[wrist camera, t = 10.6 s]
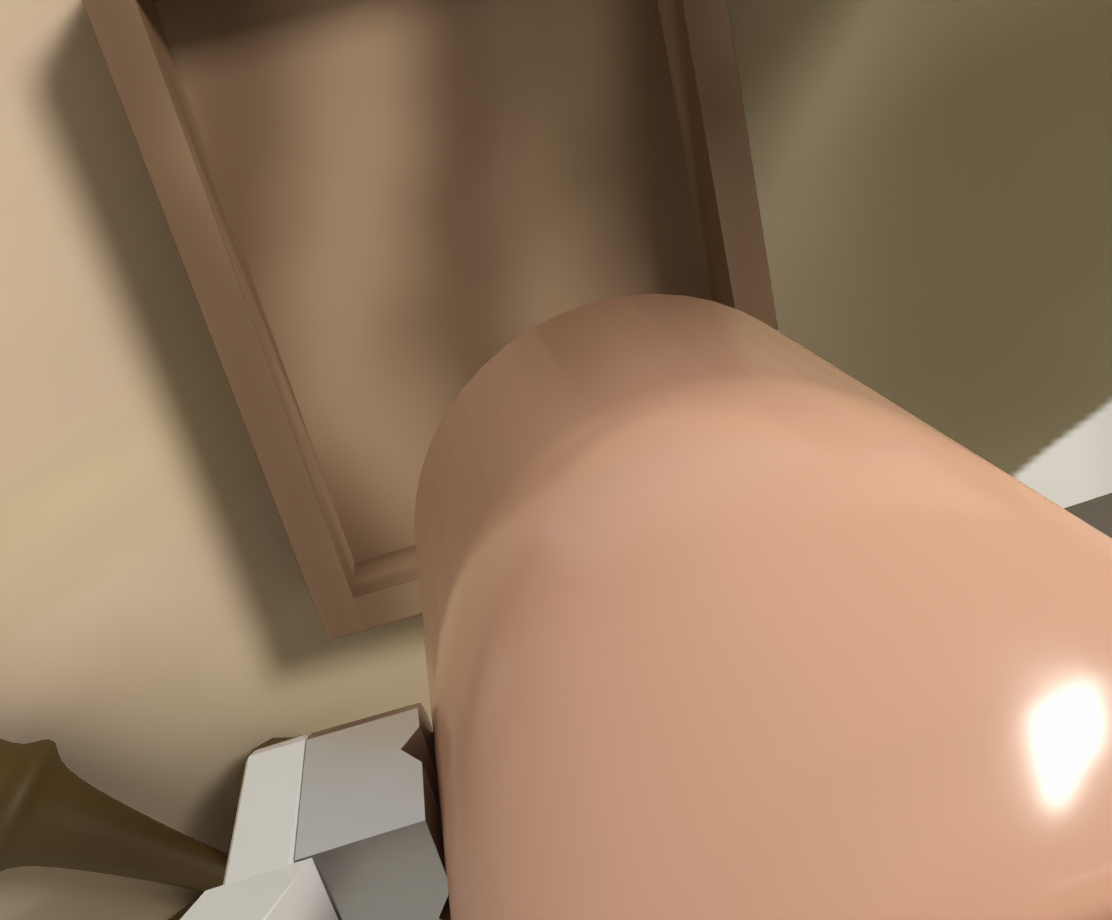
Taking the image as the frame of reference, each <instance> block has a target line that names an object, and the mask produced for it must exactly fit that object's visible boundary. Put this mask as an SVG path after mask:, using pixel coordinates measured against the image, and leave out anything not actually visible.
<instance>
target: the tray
mask: <svg viewBox="0 0 1112 920" xmlns="http://www.w3.org/2000/svg"><path fill="white" fill-rule="evenodd" d="M82 1H83V4H84V6H85V9H86V12H87V14H88V17H89V20H90V22H91V25H92V27H93V30H94V33H95V35H96V38H97V40H98V43H99V46H100V48H101V51H102V53H103V56H104V59H105V61H106V64H107V66H108V69H109V72H110V74H111V77H112V80H113V82H114V85H115V87H116V90H117V93H118V95H119V98H120V100H121V103H122V106H123V108H124V111H125V113H126V116H127V119H128V121H129V124H130V126H131V129H132V132H133V134H134V137H135V139H136V142H137V145H138V147H139V150H140V153H141V155H142V158H143V160H144V163H145V166H146V168H147V171H148V173H149V176H150V179H151V181H152V184H153V186H154V189H155V192H156V194H157V197H158V199H159V202H160V205H161V207H162V210H163V213H164V215H165V218H166V220H167V223H168V226H169V228H170V231H171V233H172V236H173V239H174V241H175V244H176V246H177V249H178V252H179V254H180V257H181V259H182V262H183V265H184V267H185V270H186V272H187V275H188V278H189V280H190V283H191V286H192V288H193V291H194V293H195V296H196V299H197V301H198V304H199V306H200V309H201V312H202V314H203V317H204V319H205V322H206V325H207V327H208V330H209V332H210V335H211V338H212V340H213V343H214V346H215V348H216V351H217V353H218V356H219V359H220V361H221V364H222V366H223V369H224V372H225V374H226V377H227V379H228V382H229V385H230V387H231V390H232V392H233V395H234V398H235V400H236V403H237V406H238V408H239V411H240V413H241V416H242V419H243V421H244V424H245V426H246V429H247V432H248V434H249V437H250V439H251V442H252V445H253V447H254V450H255V452H256V455H257V458H258V460H259V463H260V465H261V468H262V471H263V473H264V476H265V479H266V481H267V484H268V486H269V489H270V492H271V494H272V497H273V499H274V502H275V505H276V507H277V510H278V512H279V515H280V518H281V520H282V523H283V525H284V528H285V531H286V533H287V536H288V539H289V541H290V544H291V546H292V549H293V552H294V554H295V557H296V559H297V562H298V565H299V567H300V570H301V572H302V575H303V578H304V580H305V583H306V585H307V588H308V591H309V593H310V596H311V598H312V601H313V604H314V606H315V609H316V612H317V614H318V617H319V619H320V622H321V625H322V627H323V630H324V632H325V635H326V638H327V640H328V641H330V640H333V639H337V638H340V637H343V636H347V635H350V634H353V633H357V632H360V631H364V630H367V629H370V628H374V627H377V626H381V625H384V624H387V623H391V622H394V621H397V620H401V619H404V618H408V617H411V616H414V615H418V614H421V613H422V605H421V595H420V584H419V573H418V563H417V552H416V541H415V531H414V522H415V500H416V494H417V489H418V484H419V478H420V473H421V469H422V466H423V463H424V460H425V457H426V455H427V452H428V449H429V446H430V443H431V441H432V439H433V437H434V435H435V433H436V431H437V429H438V427H439V425H440V423H441V421H442V419H443V417H444V415H445V413H446V412H447V411H448V409H449V408H450V406H451V405H452V403H453V402H454V400H455V399H456V397H457V396H458V394H459V393H460V391H461V390H462V389H463V388H464V386H465V385H466V384H467V383H468V382H469V381H470V380H471V379H472V377H473V376H474V375H475V374H476V373H477V372H478V371H479V370H480V368H481V367H482V366H483V365H484V364H486V363H487V362H488V361H489V360H490V359H491V358H492V357H494V356H495V355H496V354H497V353H498V352H499V351H500V350H502V349H503V348H504V347H505V346H506V345H508V344H509V343H511V342H512V341H514V340H515V339H517V338H518V337H520V336H521V335H523V334H524V333H526V332H527V331H529V330H530V329H532V328H533V327H535V326H537V325H539V324H541V323H543V322H545V321H547V320H549V319H551V318H553V317H555V316H557V315H559V314H561V313H564V312H566V311H569V310H572V309H575V308H578V307H581V306H584V305H586V304H589V303H592V302H597V301H602V300H607V299H611V298H616V297H621V296H630V295H643V294H668V295H685V296H690V297H695V298H700V299H705V300H710V301H715V302H717V303H720V304H723V305H726V306H729V307H732V308H735V309H737V310H740V311H743V312H744V313H746V314H748V315H750V316H752V317H754V318H756V319H758V320H760V321H762V322H764V323H766V324H767V325H769V326H771V327H772V328H774V329H775V330H777V331H778V328H777V321H776V315H775V308H774V302H773V296H772V289H771V283H770V276H769V270H768V263H767V257H766V250H765V244H764V237H763V231H762V225H761V218H760V212H759V205H758V199H757V192H756V186H755V179H754V173H753V166H752V160H751V154H750V147H749V141H748V134H747V128H746V121H745V115H744V108H743V102H742V95H741V89H740V83H739V76H738V70H737V63H736V57H735V50H734V44H733V37H732V31H731V25H730V18H729V12H728V5H727V0H82Z"/></svg>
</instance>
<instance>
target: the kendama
mask: <svg viewBox="0 0 1112 920" xmlns="http://www.w3.org/2000/svg"><path fill="white" fill-rule="evenodd" d="M294 738H296V737H294ZM290 739H293V738H272V739H270V740H269V741H267V742H265V743H264V744H262V745H260V746H258V747H257V748H255V749H253V751H252V752H251V754H252V753H253V752H254V751H255V750H258V749H261V748H264V747H267V746H270V745H274V744H277V743H280V742H283V741H286V740H290ZM251 754H250V755H251ZM250 755H249V756H250ZM245 766H246V763H245V765H244V767H243V768H242V770H241V772H240V774H239V798H240V792H241V787H242V782H243V776H244V771H245ZM228 855H229V854H226V853H224V852H222V851H219V850H217V849H215V848H213V847H210V846H208V845H206V844H204V843H201V842H199V841H197V840H195V839H193V838H190V837H188V836H186V835H184V834H182V833H180V832H178V831H176V830H174V829H172V828H170V827H168V826H165V825H163V824H161V823H159V822H157V821H155V820H153V819H151V818H149V817H148V816H146V815H144V814H142V813H140V812H138V811H136V810H134V809H132V808H130V807H128V806H126V805H125V804H123V803H121V802H119V801H117V800H115V799H113V798H112V797H110V796H108V795H106V794H105V793H103V792H101V791H99V790H98V789H96V788H94V787H93V786H91V785H89V784H88V783H86V782H85V781H83V780H82V779H80V778H79V777H77V776H76V775H75V774H74V773H73V772H71V771H70V770H69V769H68V768H67V767H66V766H65V764H64V763H63V762H62V761H61V758H60V756H59V754H58V751H57V747H56V744H55V743H54V742H53V741H51V740H41V741H37V742H34V743H29V744H18V743H12V742H9V741H5V740H2V739H0V871H3V870H5V869H8V868H13V867H18V866H48V867H60V868H69V869H78V870H85V871H92V872H99V873H106V874H112V875H119V876H125V877H131V878H137V879H143V880H148V881H154V882H159V883H165V884H169V885H174V886H179V887H184V888H189V889H194V890H198V891H203V892H205V891H206V890H209V889H212V888H215V887H219V886H222V885H223V882H224V877H225V871H226V866H227V861H228ZM195 902H196V901H195ZM195 902H193V903H191V904H190V905H188V906H186V907H185V908H183V909H182V910H181V911H179V912H178V913H177V914H176V915H174V916H173V917H172V918H170V919H169V920H180V919H181V918H182V917H183V916H184V914H185V913H186V912H187V911H188V910H189V909H190V908H191V906H192V905H193V904H194V903H195Z"/></svg>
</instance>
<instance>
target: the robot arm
mask: <svg viewBox="0 0 1112 920" xmlns="http://www.w3.org/2000/svg"><path fill="white" fill-rule="evenodd" d="M1064 509H1065V510H1067V511H1068V512H1070V513H1071V514H1073V515H1075V516H1076V517H1078V518H1079V519H1081V520H1083V521H1084V522H1086V523H1087V524H1089V525H1091V526H1092V527H1094V528H1096V529H1097V530H1099V531H1100V532H1102V533H1104V534H1105V535H1107V536H1108V537H1110V538H1112V493H1110V494H1107V495H1104V496H1101V497H1098V498H1095V499H1092V500H1089V501H1086V502H1083V503H1079V504H1077V505H1073V506H1070V507H1068V508H1064ZM180 920H451V915H450V904H449V894H448V883H447V872H446V862H445V851H444V840H443V830H442V819H441V808H440V798H439V787H438V776H437V766H436V755H435V744H434V734H433V730H432V727H431V724H430V722H429V719H428V716H427V714H426V711H425V710H424V708H423V706H422V705H421V703H417V704H414V705H410V706H407V707H403V708H400V709H396V710H393V711H389V712H385V713H382V714H378V715H375V716H371V717H368V718H364V719H361V720H357V721H353V722H350V723H346V724H343V725H339V726H336V727H332V728H329V729H325V730H321V731H318V732H314V733H312V734H311V735H310V736H309V735H302V736H299V737H296V738H293V739H290V740H286V741H283V742H280V743H277V744H274V745H270V746H267V747H264V748H261V749H258V750H255V751H254V752H253V753H252V754H251V755H250V756H249V757H248V759H247V761H246V766H245V771H244V776H243V782H242V787H241V792H240V798H239V803H238V808H237V813H236V819H235V824H234V829H233V834H232V840H231V845H230V850H229V855H228V861H227V866H226V871H225V877H224V882H223V885H222V886H219V887H215V888H212V889H209V890H206V891H205V892H204V893H203V894H202V895H201V896H200V897H199V898H198V900H197V901H196V902H195V903H194V904H193V905H192V906H191V908H190V909H189V910H188V911H187V912H186V913H185V914H184V916H183V917H182V918H181V919H180Z"/></svg>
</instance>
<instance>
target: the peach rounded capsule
mask: <svg viewBox="0 0 1112 920" xmlns="http://www.w3.org/2000/svg"><path fill="white" fill-rule="evenodd" d="M414 531H415V541H416V552H417V563H418V573H419V584H420V595H421V605H422V616H423V627H424V637H425V648H426V659H427V669H428V680H429V691H430V701H431V712H432V723H433V734H434V744H435V755H436V766H437V776H438V787H439V798H440V808H441V819H442V830H443V840H444V851H445V862H446V872H447V883H448V894H449V904H450V915H451V920H1112V538H1110V537H1108V536H1107V535H1105V534H1104V533H1102V532H1100V531H1099V530H1097V529H1096V528H1094V527H1092V526H1091V525H1089V524H1087V523H1086V522H1084V521H1083V520H1081V519H1079V518H1078V517H1076V516H1075V515H1073V514H1071V513H1070V512H1068V511H1067V510H1065V509H1063V508H1062V507H1060V506H1059V505H1057V504H1055V503H1054V502H1052V501H1050V500H1048V499H1047V498H1046V497H1044V496H1042V495H1041V494H1039V493H1038V492H1036V491H1034V490H1033V489H1031V488H1030V487H1028V486H1026V485H1025V484H1023V483H1022V482H1020V481H1018V480H1017V479H1015V478H1013V477H1012V476H1010V475H1009V474H1007V473H1005V472H1004V471H1002V470H1001V469H999V468H997V467H996V466H994V465H993V464H991V463H989V462H988V461H986V460H985V459H983V458H981V457H980V456H978V455H976V454H975V453H973V452H972V451H970V450H968V449H967V448H965V447H964V446H962V445H960V444H959V443H957V442H956V441H954V440H952V439H951V438H949V437H948V436H946V435H944V434H943V433H941V432H939V431H938V430H936V429H935V428H933V427H931V426H930V425H928V424H927V423H925V422H923V421H922V420H920V419H919V418H917V417H915V416H914V415H912V414H911V413H909V412H907V411H906V410H904V409H902V408H901V407H899V406H898V405H896V404H894V403H893V402H891V401H890V400H888V399H886V398H885V397H883V396H882V395H880V394H878V393H877V392H875V391H874V390H872V389H870V388H869V387H867V386H865V385H864V384H862V383H861V382H859V381H857V380H856V379H854V378H853V377H851V376H849V375H848V374H846V373H845V372H843V371H841V370H840V369H838V368H837V367H835V366H833V365H832V364H830V363H828V362H827V361H825V360H824V359H822V358H820V357H819V356H817V355H816V354H814V353H812V352H811V351H809V350H808V349H806V348H804V347H803V346H801V345H800V344H798V343H796V342H795V341H793V340H791V339H790V338H788V337H787V336H785V335H783V334H782V333H780V332H779V331H777V330H775V329H774V328H772V327H771V326H769V325H767V324H766V323H764V322H762V321H760V320H758V319H756V318H754V317H752V316H750V315H748V314H746V313H744V312H743V311H740V310H737V309H735V308H732V307H729V306H726V305H723V304H720V303H717V302H715V301H710V300H705V299H700V298H695V297H690V296H685V295H668V294H643V295H630V296H621V297H616V298H611V299H607V300H602V301H597V302H592V303H589V304H586V305H584V306H581V307H578V308H575V309H572V310H569V311H566V312H564V313H561V314H559V315H557V316H555V317H553V318H551V319H549V320H547V321H545V322H543V323H541V324H539V325H537V326H535V327H533V328H532V329H530V330H529V331H527V332H526V333H524V334H523V335H521V336H520V337H518V338H517V339H515V340H514V341H512V342H511V343H509V344H508V345H506V346H505V347H504V348H503V349H502V350H500V351H499V352H498V353H497V354H496V355H495V356H494V357H492V358H491V359H490V360H489V361H488V362H487V363H486V364H484V365H483V366H482V367H481V368H480V370H479V371H478V372H477V373H476V374H475V375H474V376H473V377H472V379H471V380H470V381H469V382H468V383H467V384H466V385H465V386H464V388H463V389H462V390H461V391H460V393H459V394H458V396H457V397H456V399H455V400H454V402H453V403H452V405H451V406H450V408H449V409H448V411H447V412H446V413H445V415H444V417H443V419H442V421H441V423H440V425H439V427H438V429H437V431H436V433H435V435H434V437H433V439H432V441H431V443H430V446H429V449H428V452H427V455H426V457H425V460H424V463H423V466H422V469H421V473H420V478H419V484H418V489H417V494H416V500H415V522H414Z"/></svg>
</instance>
